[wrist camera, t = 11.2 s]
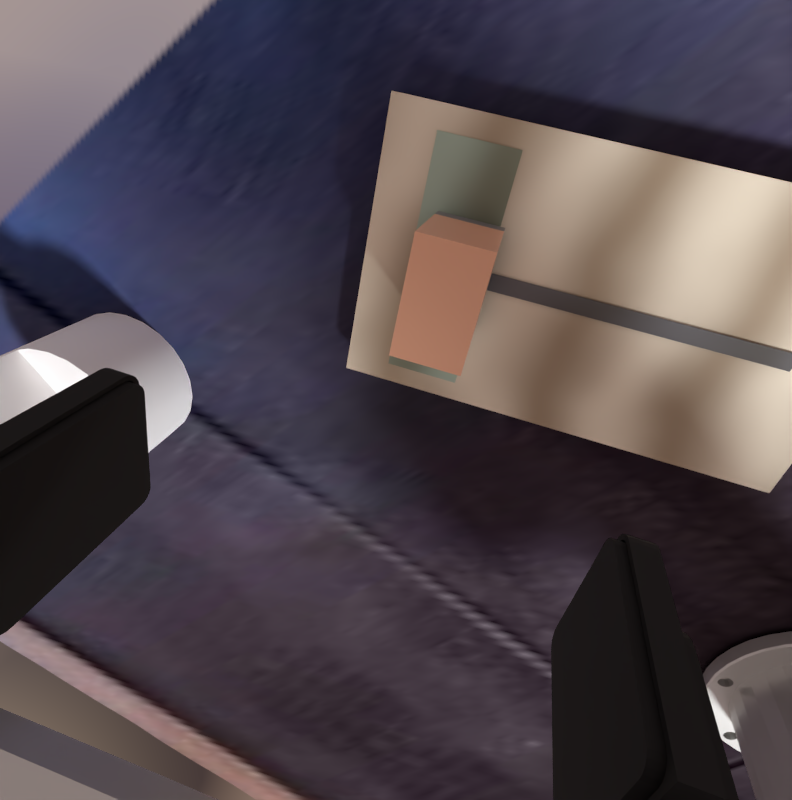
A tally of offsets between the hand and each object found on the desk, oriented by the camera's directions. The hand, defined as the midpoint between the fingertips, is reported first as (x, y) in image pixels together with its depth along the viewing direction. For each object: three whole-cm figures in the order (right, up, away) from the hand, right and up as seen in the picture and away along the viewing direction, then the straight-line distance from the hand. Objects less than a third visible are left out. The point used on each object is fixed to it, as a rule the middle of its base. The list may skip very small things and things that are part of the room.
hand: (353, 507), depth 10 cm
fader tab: (+4, +8, +13) cm, 16 cm away
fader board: (+10, +7, +15) cm, 19 cm away
